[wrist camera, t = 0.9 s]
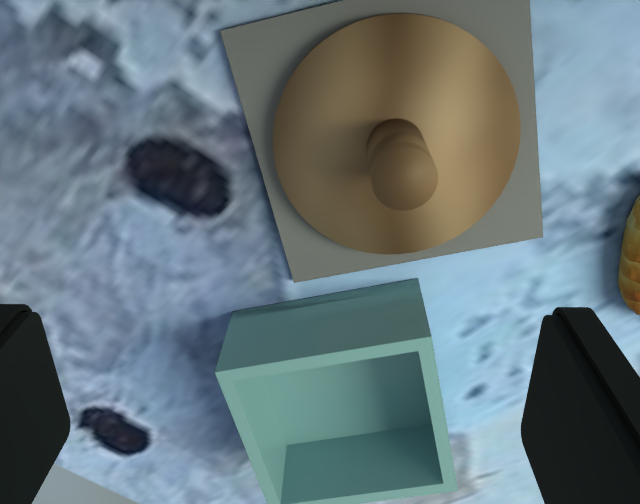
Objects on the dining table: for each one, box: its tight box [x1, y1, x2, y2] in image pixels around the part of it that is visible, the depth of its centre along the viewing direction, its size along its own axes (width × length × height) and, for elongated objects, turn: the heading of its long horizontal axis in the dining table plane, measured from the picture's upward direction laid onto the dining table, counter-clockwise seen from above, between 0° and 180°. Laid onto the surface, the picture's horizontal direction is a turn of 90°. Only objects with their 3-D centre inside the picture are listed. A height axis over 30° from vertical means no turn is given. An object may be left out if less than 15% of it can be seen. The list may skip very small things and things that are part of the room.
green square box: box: [215, 278, 458, 504], centre depth 37 cm, size 12×12×6 cm
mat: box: [220, 0, 543, 283], centre depth 31 cm, size 15×15×1 cm
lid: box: [273, 13, 521, 255], centre depth 29 cm, size 13×13×6 cm
